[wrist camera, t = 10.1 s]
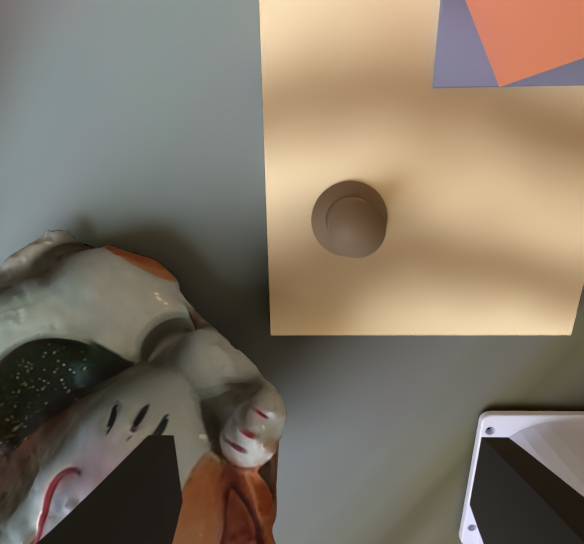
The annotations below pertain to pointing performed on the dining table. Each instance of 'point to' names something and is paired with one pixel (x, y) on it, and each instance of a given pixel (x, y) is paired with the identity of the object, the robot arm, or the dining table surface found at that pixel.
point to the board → (415, 176)
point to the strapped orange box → (528, 35)
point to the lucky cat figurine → (125, 394)
